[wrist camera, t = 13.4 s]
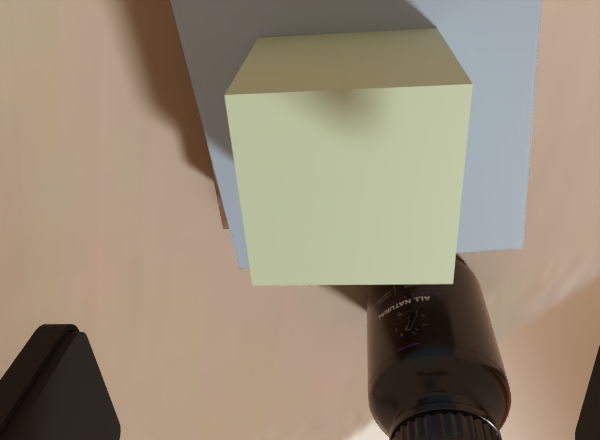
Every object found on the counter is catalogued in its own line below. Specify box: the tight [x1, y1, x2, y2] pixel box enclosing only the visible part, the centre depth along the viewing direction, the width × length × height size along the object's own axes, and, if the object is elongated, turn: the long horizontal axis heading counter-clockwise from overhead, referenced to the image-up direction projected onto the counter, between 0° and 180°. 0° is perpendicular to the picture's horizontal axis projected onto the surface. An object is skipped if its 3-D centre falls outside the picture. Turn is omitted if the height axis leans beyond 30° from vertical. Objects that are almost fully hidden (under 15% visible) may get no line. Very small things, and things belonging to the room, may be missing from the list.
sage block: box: [224, 28, 473, 286], centre depth 17 cm, size 6×6×6 cm
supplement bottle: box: [367, 259, 511, 440], centre depth 28 cm, size 7×7×12 cm
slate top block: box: [170, 0, 542, 268], centre depth 22 cm, size 12×12×4 cm
